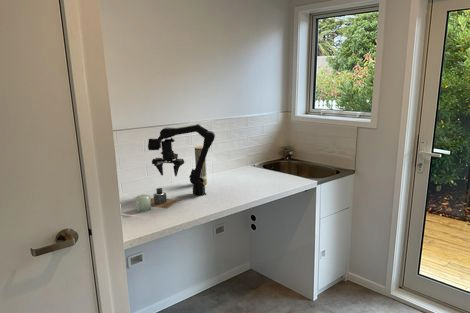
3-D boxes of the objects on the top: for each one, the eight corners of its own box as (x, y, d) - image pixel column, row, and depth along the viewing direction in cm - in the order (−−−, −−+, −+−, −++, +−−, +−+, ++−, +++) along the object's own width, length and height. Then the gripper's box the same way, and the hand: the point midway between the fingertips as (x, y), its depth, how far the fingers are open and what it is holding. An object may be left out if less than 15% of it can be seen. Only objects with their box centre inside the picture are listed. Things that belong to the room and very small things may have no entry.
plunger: (165, 199, 201) (164, 187, 200) (161, 202, 197) (160, 190, 196) (159, 199, 203) (158, 187, 202) (154, 201, 199) (153, 189, 198)
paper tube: (196, 183, 240) (194, 146, 235) (206, 182, 241) (205, 145, 235) (196, 185, 233) (194, 148, 228) (206, 185, 234) (205, 147, 229)
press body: (170, 200, 204) (169, 192, 203) (162, 205, 196) (161, 197, 195) (160, 199, 206) (159, 191, 205) (151, 203, 199) (151, 195, 198)
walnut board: (180, 201, 203) (180, 200, 203) (167, 209, 191) (167, 208, 191) (154, 198, 210) (154, 197, 210) (139, 206, 198) (139, 204, 198)
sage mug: (153, 209, 192) (152, 195, 191) (143, 215, 184) (142, 200, 183) (143, 208, 195) (141, 193, 193) (132, 213, 187) (131, 198, 186)
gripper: (187, 147, 211) (189, 173, 215) (160, 146, 218) (162, 171, 221) (178, 151, 201) (180, 178, 204) (150, 150, 208) (152, 176, 211)
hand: (169, 175), depth 211 cm, fingers open, 9 cm apart
